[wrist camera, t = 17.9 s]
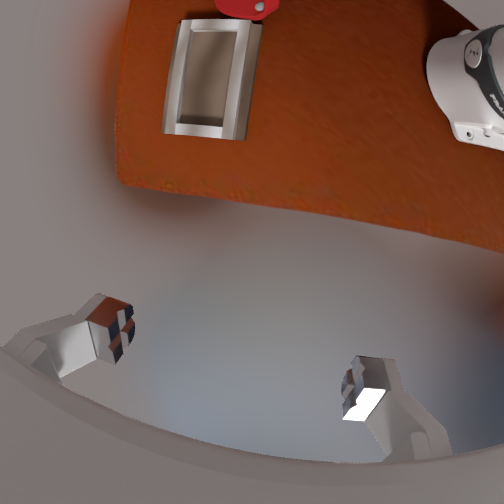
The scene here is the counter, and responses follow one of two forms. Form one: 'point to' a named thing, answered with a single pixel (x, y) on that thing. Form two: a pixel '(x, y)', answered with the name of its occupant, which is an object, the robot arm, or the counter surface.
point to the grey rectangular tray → (212, 78)
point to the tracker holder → (247, 8)
